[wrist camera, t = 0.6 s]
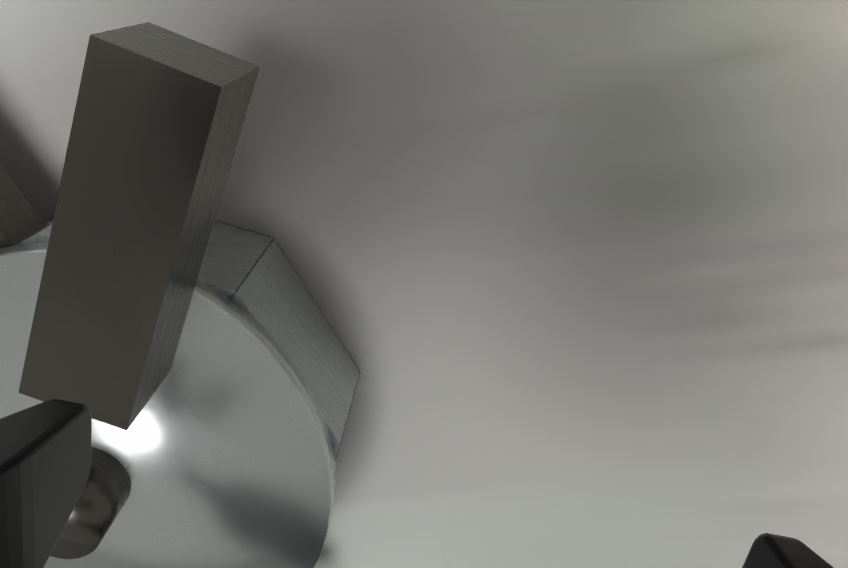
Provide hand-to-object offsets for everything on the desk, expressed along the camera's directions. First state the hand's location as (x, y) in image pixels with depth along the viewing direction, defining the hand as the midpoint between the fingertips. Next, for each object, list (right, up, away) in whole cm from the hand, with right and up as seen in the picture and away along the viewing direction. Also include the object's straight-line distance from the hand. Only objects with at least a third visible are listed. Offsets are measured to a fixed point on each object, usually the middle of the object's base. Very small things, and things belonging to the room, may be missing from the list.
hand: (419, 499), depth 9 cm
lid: (-7, 0, +10) cm, 12 cm away
